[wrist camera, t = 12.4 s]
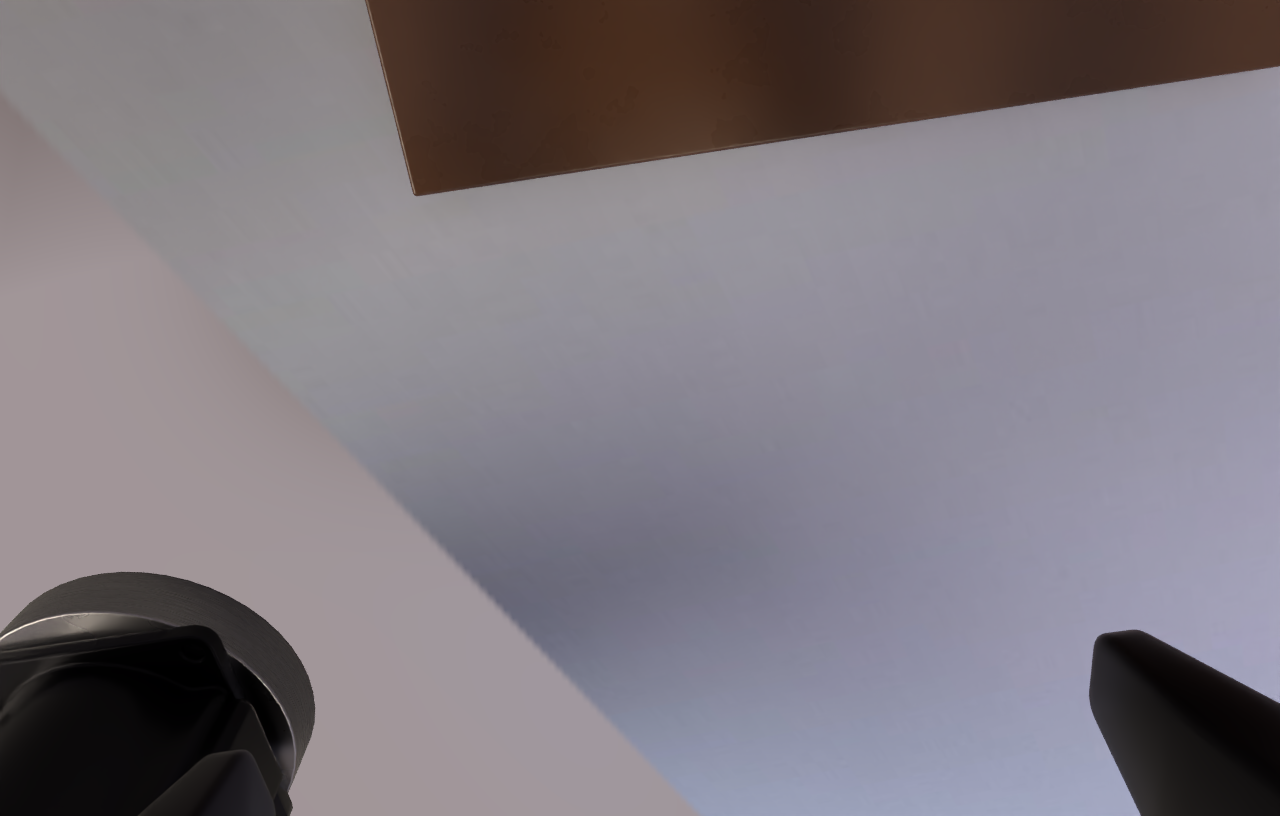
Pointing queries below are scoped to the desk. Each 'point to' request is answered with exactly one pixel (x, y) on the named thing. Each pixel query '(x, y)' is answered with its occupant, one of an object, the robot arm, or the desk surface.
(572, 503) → the desk surface
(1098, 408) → the desk surface
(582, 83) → the walnut board
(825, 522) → the desk surface
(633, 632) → the desk surface
